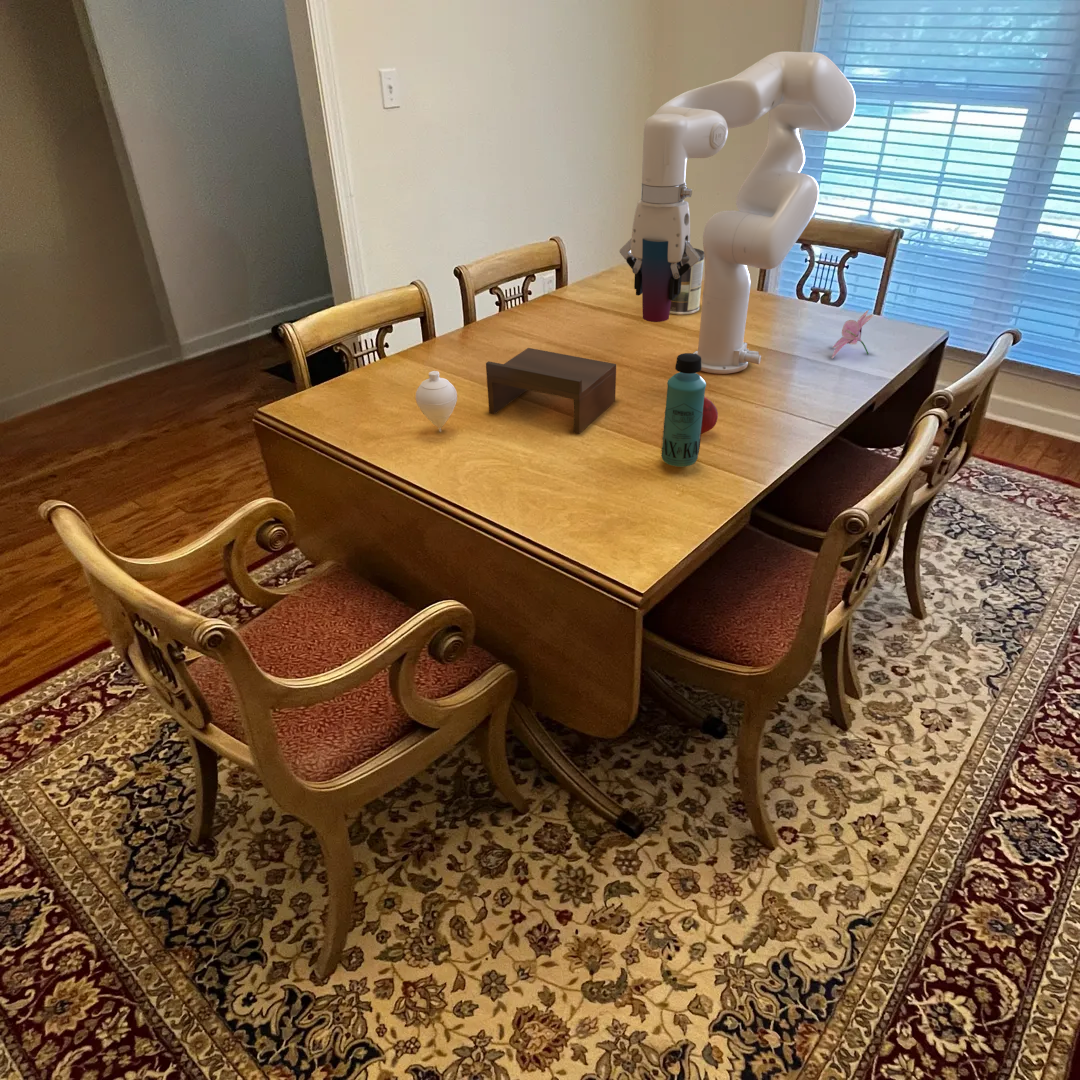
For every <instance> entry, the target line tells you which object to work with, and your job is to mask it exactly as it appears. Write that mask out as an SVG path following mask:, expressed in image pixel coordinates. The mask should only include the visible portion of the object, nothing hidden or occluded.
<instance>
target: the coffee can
mask: <svg viewBox="0 0 1080 1080" xmlns="http://www.w3.org/2000/svg"><path fill="white" fill-rule="evenodd" d="M693 248H694V249H695V251H696V252H697V253H698V255H699V256H700V260H699V261H698V262H697V263H696V264H695V265H693V266H692V267H691V268H690V269H689V270H688V271H687V272H685V273H684V274H683V275H682V279H681V292H680V294H679V295H678V296H677V297H676V298H675V299H674V300H671V306H670V313H669V315H670V314H671V315H681V316H684V315H691V314H695V313H698V312H699V311H700V305H701V304H700V303H701V294H702V284H703V283H702V282H703V273H704V264H705V258H704V250H702V249H700V248H697V247H696V248H695V247H693ZM681 261H682V264H683V265H684V264H685V263H686V262H688V261H689V257H688V256H687V257H684V258H682V259H681Z"/></svg>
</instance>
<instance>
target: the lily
mask: <svg viewBox="0 0 1080 1080" xmlns="http://www.w3.org/2000/svg"><path fill="white" fill-rule="evenodd" d="M869 310H870V309H867V310H865V312H864V313H863V314H862V315H861V316H860V317H858V319H857V321H856V320H855V319H848V320H846V321H845V322H844V324H843V326H842V327H841V328H842V329H841V336H842V337H840V338H839V339H838V340H837V341H836V342H835V343H834V344H833V345H832V347H831V349H834V350H833V352H832V355H831V359H833V358H835V356H836V355H837V354H838V353H839V352H840V351H841V350H842V349H843V348H844V347H845V346H846V345H857V344H858V342H860V343H861V344H862V346H863V347H864V350H865V352H866V354H867V355H869V351H868V349H867V346H866V345H865V343H864V341H863V340H862V330H863V327H864V325H866V324H867V323H868V322H869V321H870V320H871V319H872V318H874V314H869V315H868V312H869Z"/></svg>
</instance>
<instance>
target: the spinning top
mask: <svg viewBox="0 0 1080 1080" xmlns="http://www.w3.org/2000/svg"><path fill="white" fill-rule="evenodd" d="M428 377H429V378H426V379H424V380H422V381H421V383H420V385H418V387H417V389H416V392H415V402H416V405H417V407H418V409H419V410H420V411H421V413H422V414H423V415H424V416H425V417H426V418H427V419H428V421H430V422H431V424H432V425H434V427H436V428H438V432H439V433H442V428H443V427H444V426H445V424H446V423H447V421H448V420H449V419H450V417H451V415H452V414H453V412H454V410H455V408H456V405H457V402H458V392H457V389H456V388H455V386H454V384H452V383H451V382H450V381H449V380H448V379H446V378H444V377H440V372H439V371H438V370H431V371H429V372H428Z"/></svg>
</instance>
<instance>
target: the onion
mask: <svg viewBox="0 0 1080 1080" xmlns="http://www.w3.org/2000/svg"><path fill="white" fill-rule="evenodd" d="M703 415H704V416H702V423H703V425H701V428H702V429H701V430H702V431H701V434H700V436H702V435H703V434H706V433H707V432H709V431H711V430H713V429H714V427H715V426H716V424H717V422H718V418H719V412H718V409H717V407H716V405H715V404H714V403H713V402H712V400H710V399H709V398H708V397H706V396H704V405H703Z"/></svg>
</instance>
